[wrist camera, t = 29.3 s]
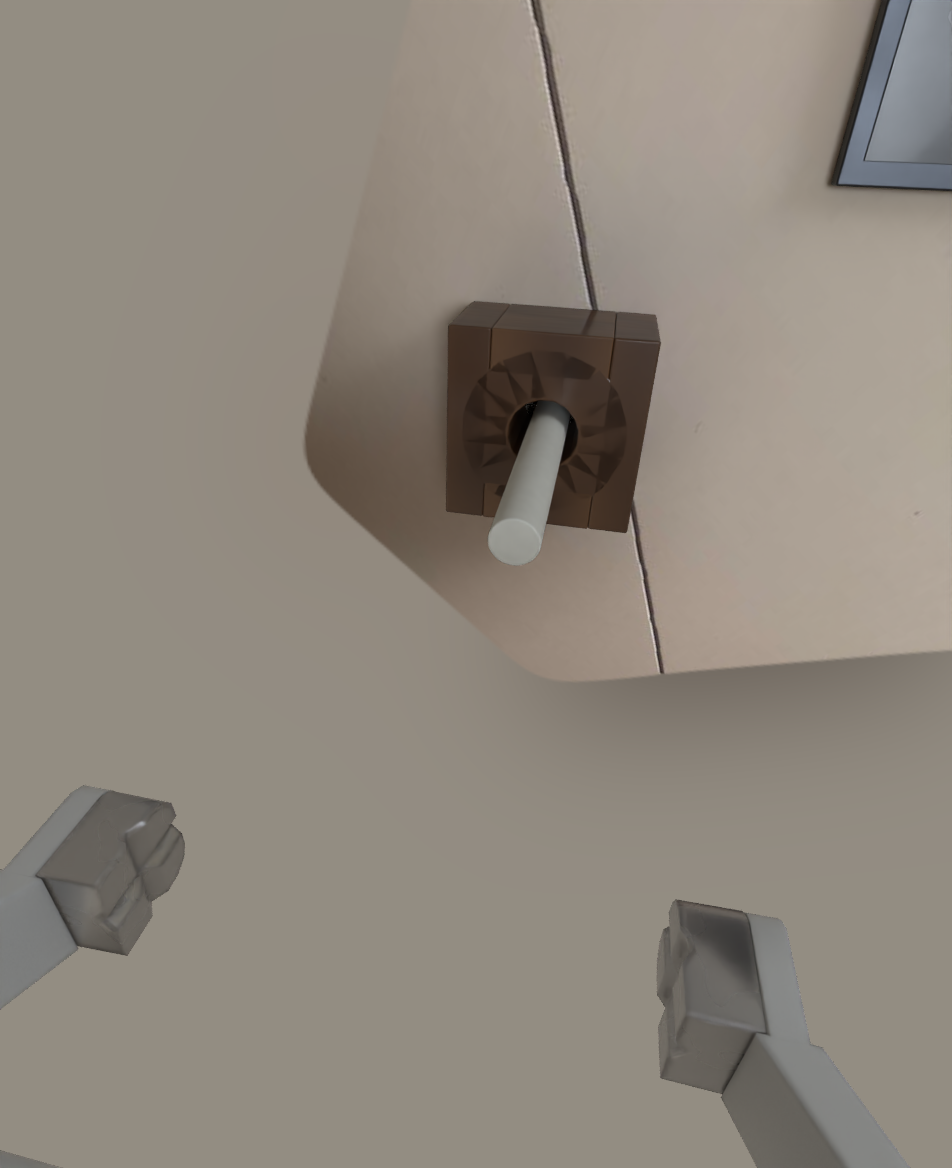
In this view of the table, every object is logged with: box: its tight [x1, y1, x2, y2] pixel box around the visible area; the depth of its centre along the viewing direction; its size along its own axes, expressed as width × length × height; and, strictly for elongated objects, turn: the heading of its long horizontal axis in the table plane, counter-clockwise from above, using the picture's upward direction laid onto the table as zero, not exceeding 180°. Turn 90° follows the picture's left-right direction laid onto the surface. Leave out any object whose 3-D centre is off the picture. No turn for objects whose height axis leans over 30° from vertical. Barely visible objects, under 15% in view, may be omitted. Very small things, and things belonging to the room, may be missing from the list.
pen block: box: [446, 301, 661, 533], centre depth 29 cm, size 8×8×5 cm
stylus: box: [488, 400, 571, 566], centre depth 26 cm, size 2×2×14 cm
